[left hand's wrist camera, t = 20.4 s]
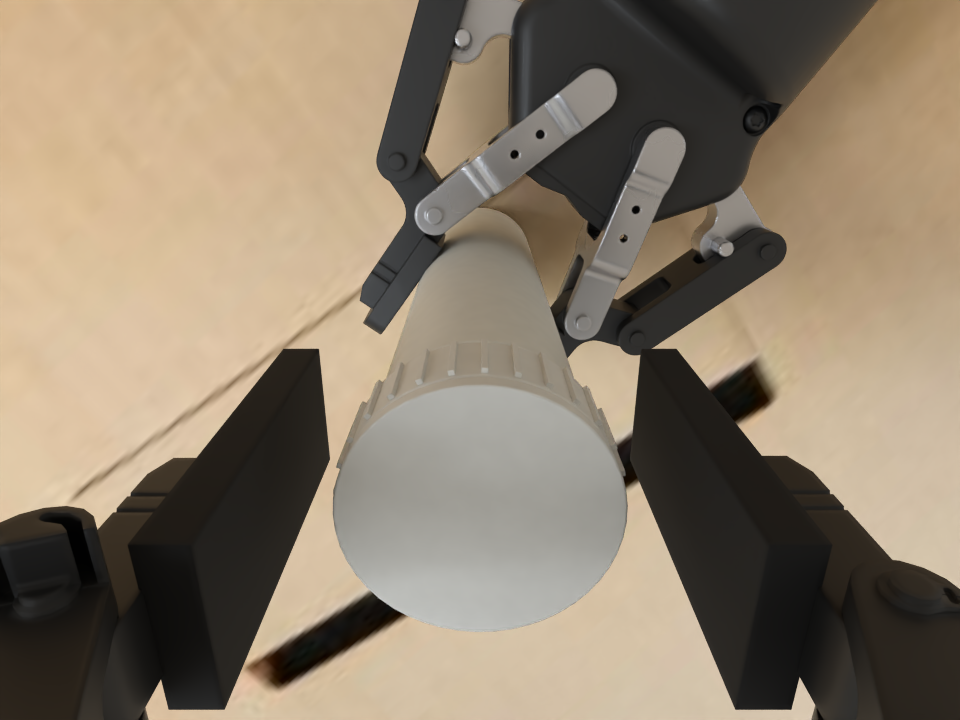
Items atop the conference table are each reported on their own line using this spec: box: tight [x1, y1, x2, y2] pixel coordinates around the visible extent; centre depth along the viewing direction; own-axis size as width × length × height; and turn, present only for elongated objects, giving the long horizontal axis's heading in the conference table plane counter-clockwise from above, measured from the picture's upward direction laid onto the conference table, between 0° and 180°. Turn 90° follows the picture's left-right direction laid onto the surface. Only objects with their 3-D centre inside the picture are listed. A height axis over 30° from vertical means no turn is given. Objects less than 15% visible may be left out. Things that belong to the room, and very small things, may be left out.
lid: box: [333, 339, 628, 632], centre depth 11 cm, size 5×5×2 cm
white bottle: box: [387, 208, 574, 378], centre depth 19 cm, size 4×4×18 cm
